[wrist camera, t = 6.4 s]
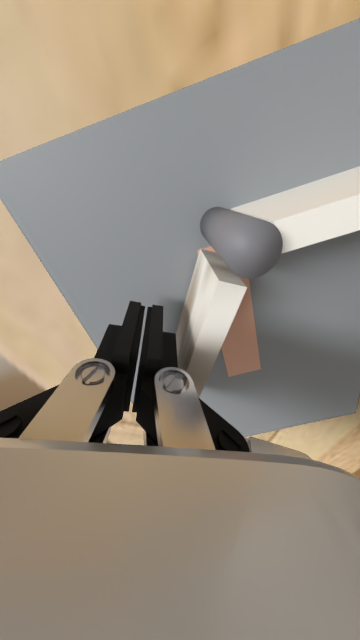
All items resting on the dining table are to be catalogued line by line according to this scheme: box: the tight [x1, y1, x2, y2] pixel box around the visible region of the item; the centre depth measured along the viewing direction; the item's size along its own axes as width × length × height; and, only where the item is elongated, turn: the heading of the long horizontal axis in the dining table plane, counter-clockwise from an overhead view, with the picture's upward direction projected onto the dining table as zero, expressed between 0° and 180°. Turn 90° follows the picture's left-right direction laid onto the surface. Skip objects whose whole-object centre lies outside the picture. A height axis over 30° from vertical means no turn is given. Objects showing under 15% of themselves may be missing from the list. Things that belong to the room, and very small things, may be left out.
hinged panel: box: [176, 249, 247, 398], centre depth 11 cm, size 9×1×5 cm, turn 166°
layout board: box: [0, 18, 360, 437], centre depth 12 cm, size 18×24×6 cm
